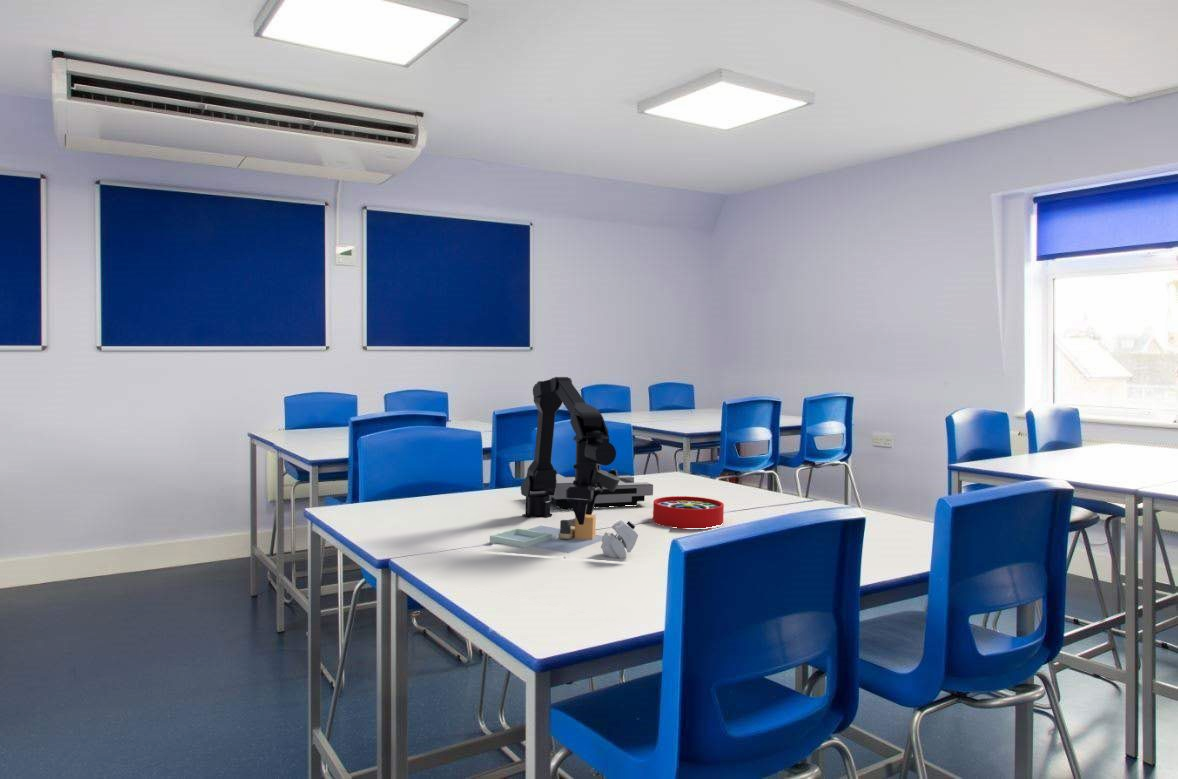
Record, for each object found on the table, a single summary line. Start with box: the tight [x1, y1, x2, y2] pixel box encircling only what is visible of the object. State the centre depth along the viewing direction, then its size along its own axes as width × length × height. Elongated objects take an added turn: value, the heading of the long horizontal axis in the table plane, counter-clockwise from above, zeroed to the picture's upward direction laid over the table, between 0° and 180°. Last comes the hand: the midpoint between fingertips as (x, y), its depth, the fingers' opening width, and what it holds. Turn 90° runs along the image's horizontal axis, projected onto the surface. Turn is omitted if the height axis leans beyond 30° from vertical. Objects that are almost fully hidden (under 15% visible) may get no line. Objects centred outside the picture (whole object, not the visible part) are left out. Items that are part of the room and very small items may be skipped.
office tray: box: [549, 472, 654, 511], centre depth 257 cm, size 21×32×8 cm, turn 109°
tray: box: [489, 527, 552, 548], centre depth 201 cm, size 11×11×2 cm
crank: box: [558, 517, 575, 539], centre depth 209 cm, size 15×5×4 cm, turn 166°
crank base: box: [506, 525, 603, 554], centre depth 204 cm, size 22×20×1 cm
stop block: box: [574, 514, 597, 539], centre depth 205 cm, size 4×5×6 cm
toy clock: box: [652, 495, 725, 528], centre depth 230 cm, size 20×6×20 cm
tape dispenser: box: [600, 519, 639, 559], centre depth 188 cm, size 6×7×10 cm
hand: (585, 520), depth 205 cm, fingers open, 9 cm apart
